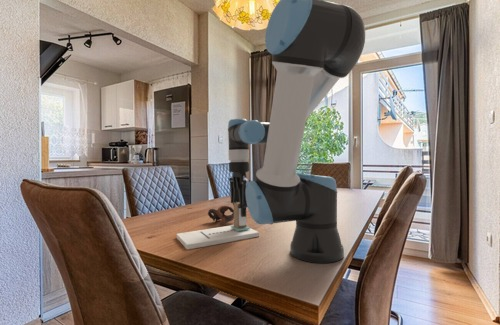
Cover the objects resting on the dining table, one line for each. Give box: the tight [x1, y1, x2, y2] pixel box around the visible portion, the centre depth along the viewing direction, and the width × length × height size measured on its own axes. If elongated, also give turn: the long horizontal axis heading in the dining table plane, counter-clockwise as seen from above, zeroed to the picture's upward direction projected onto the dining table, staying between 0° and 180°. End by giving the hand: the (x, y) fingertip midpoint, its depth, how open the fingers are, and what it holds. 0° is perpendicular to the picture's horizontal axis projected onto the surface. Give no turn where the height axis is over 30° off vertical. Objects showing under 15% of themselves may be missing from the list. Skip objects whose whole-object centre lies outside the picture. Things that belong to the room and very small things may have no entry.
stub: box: [230, 202, 251, 231], centre depth 99 cm, size 6×5×10 cm
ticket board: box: [176, 224, 260, 250], centre depth 95 cm, size 14×26×2 cm, turn 119°
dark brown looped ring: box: [207, 205, 234, 226], centre depth 116 cm, size 12×10×8 cm
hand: (240, 223), depth 99 cm, fingers closed on stub, 3 cm apart
